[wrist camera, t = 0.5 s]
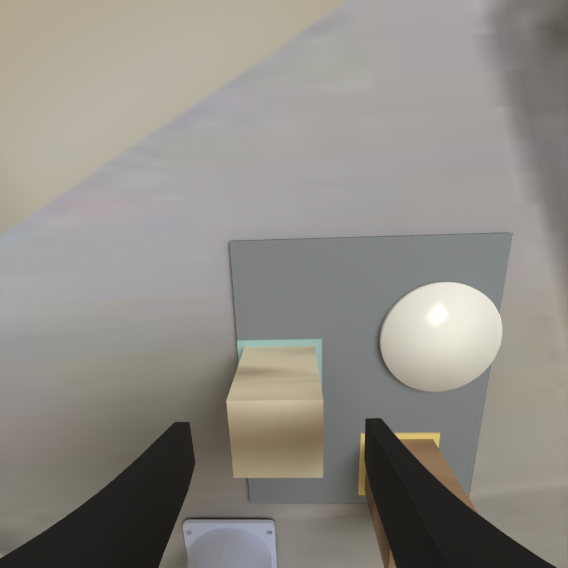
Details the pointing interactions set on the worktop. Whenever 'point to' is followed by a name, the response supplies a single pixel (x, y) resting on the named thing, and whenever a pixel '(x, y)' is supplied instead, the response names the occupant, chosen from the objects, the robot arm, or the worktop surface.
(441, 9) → the worktop surface
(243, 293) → the grey board
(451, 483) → the walnut block
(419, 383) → the white flat disc
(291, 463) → the beech block
